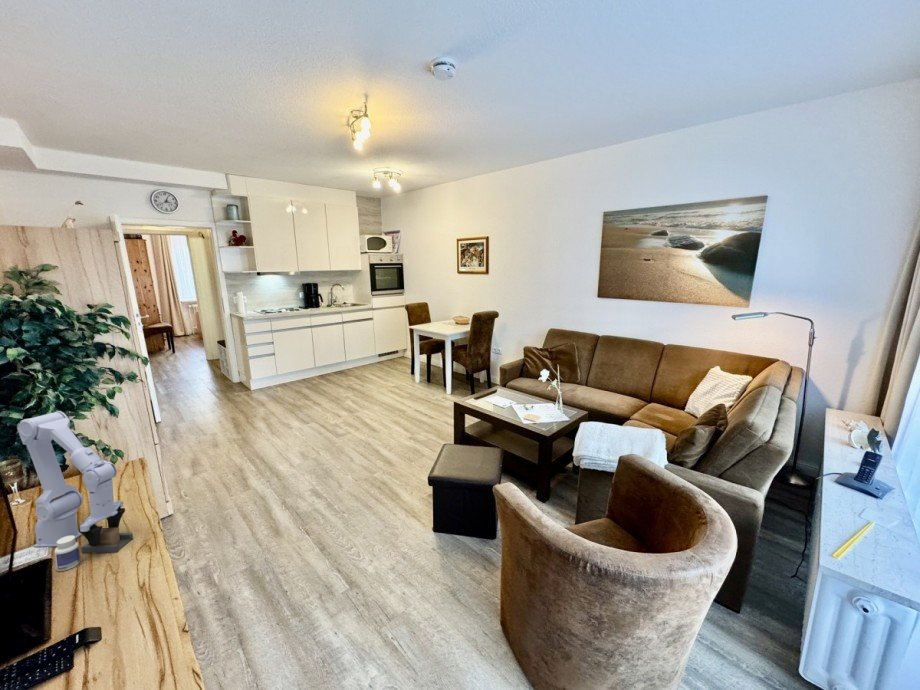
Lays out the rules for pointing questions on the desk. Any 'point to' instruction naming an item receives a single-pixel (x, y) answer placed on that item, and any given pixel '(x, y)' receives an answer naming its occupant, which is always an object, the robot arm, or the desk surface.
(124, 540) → the gray u-shaped channel bracket
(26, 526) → the desk surface
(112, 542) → the walnut block
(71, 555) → the pill bottle
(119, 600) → the desk surface
